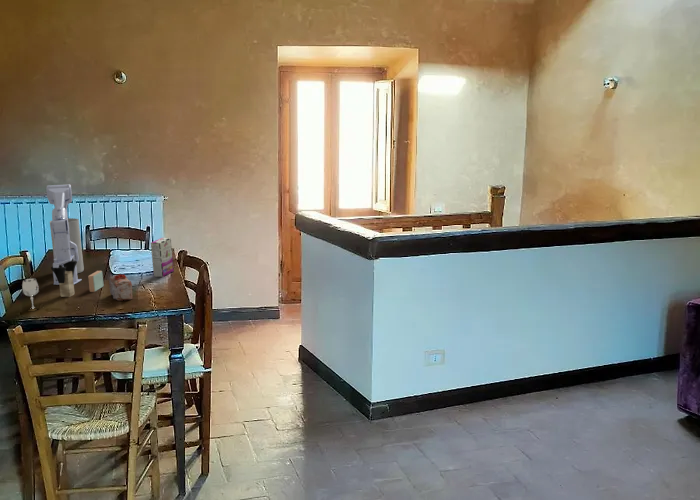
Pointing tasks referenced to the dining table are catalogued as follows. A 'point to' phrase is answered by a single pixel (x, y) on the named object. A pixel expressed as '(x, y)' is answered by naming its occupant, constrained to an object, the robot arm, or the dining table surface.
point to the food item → (120, 287)
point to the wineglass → (30, 288)
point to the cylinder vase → (74, 240)
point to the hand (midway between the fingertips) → (66, 280)
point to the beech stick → (67, 285)
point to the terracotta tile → (95, 281)
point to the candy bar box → (162, 257)
